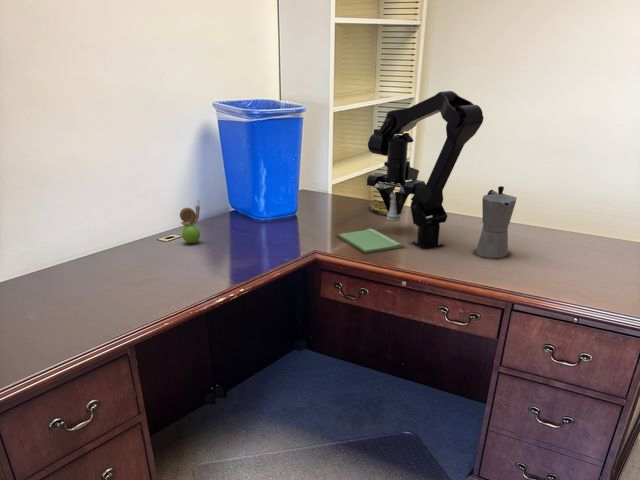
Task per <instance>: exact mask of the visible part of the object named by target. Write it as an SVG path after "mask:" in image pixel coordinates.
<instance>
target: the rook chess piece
mask: <svg viewBox="0 0 640 480" xmlns="http://www.w3.org/2000/svg"><path fill="white" fill-rule="evenodd" d="M390 198H391V201H390V202H391V205H390V210H389V212H388V214H387V215H386V220H387V221H389V222H399V221H400V220H401V219H402V218H401V217H402V214H401V213H400V214H397V209H396V196H395V191H393V192H391V195H390Z"/></svg>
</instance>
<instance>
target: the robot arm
mask: <svg viewBox="0 0 640 480" xmlns="http://www.w3.org/2000/svg"><path fill="white" fill-rule="evenodd" d="M438 113H440V115H441V118H442V119H443V120H444V121H445V122H446V126H445V133H446V138H445V141H444V143H443V145H442V147H441V150H440V152H439V154H438V157H437V159H436V162H435V164H434V166H433V168H432V170H431V173H430V175H429V177H428V179H427V181H426V182H425V181H424V180H420V179H418V177H419V173H420V170H419V169H416V168H414V167H411V162H410V161H409V160H408V150H409V149H408V148H409V147H408V145H409V143H413V142H414V138H413V137H412V136H411V135H410V133H409V131H411V130H412V129H414V128H415V127H416V126H417V124H418V123H419V122H421V121H423V120H425V119H428V118H429V117H431V116H434V115H436V114H438ZM483 122H484V115H483V109H482V108H481V107H480V106H479V105H478V104H474V103H473V102H472V101H470V100H468V99H466V98H464V97H462V96H460V95H458V94H457V93H456V92H455V91H453V90H445V91H439V92H437V93H436V94H435V95H433V96H431V97H430V96H429V98H426V99H424V100H422V101H420V102H418V103H415V104H414V105H412V106H410V107H406V108H399V109H394V110H389V111H387V113H386V115H385V119H384V120H383V123H382V125H381V127H380V128H374V129H373V133H372V134H371V135H370V137H369V139H368V141H367V148H368V150H369V152H370V154H371V153H372V154H375V155H379V156H384V157H387V158H386V161H384V163H383V167H386V173H382V172H381V173H380V172H377V173H373V174H369V175H368V176H367V178H366V186H368V187H375V186H376V185H377V187H376V191H378V193H379V195H380V197H381V199H382V201H383V202H384V204H385V206H386V209H387V211H388V212H389V210H390V205H391V202H390V201H391V198H390V195H391V192H394V193H395V196H396V209H397V214H401V213H402V211H403V208H404V206H405V204H406V201H407V199H408V197H409V196H410V195H413V196H412V197H411V198H410V201H411V203H410V212H411V217H412V218H411V219H412V224H413V225H415V226H416V227H417V239H416V240H413V241H412V243H413V244H414V245H416V246H418V247H420V248H422V249H430V248H435V247H443V243H442V242H440V241H439V240H440V239H439V238H440V231H441V230H440V229H441V224H442V223H443V224H444V223H446V221H447V220H448V214H447V212H446V210H445V208H444V206H443V202H444V192H443V191H444V188H445V187H446V185H447V182H448V180H449V178H450V176H451V174H452V171H453V170H454V167H455V165H456V163H457V161H458V159H459V157H460V155H461V153H462V150H463V148H464V147H465V145H466V143H468V142H469V141H470V140H471V139H472V138H473V137H474V136H476V133H477V132H478V130H479V129H480V128H481V127H482V125H483ZM396 188H399V191H398V190H397V191H395V189H396Z"/></svg>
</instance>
